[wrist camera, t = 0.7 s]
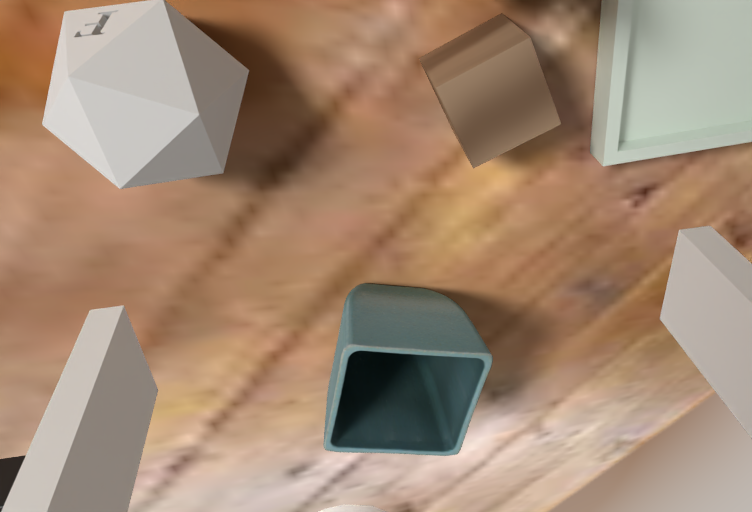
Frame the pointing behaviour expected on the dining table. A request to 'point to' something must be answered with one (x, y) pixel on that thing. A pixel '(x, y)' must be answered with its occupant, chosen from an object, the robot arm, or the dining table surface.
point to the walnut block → (491, 89)
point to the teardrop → (353, 509)
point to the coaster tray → (671, 78)
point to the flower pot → (403, 373)
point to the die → (143, 94)
